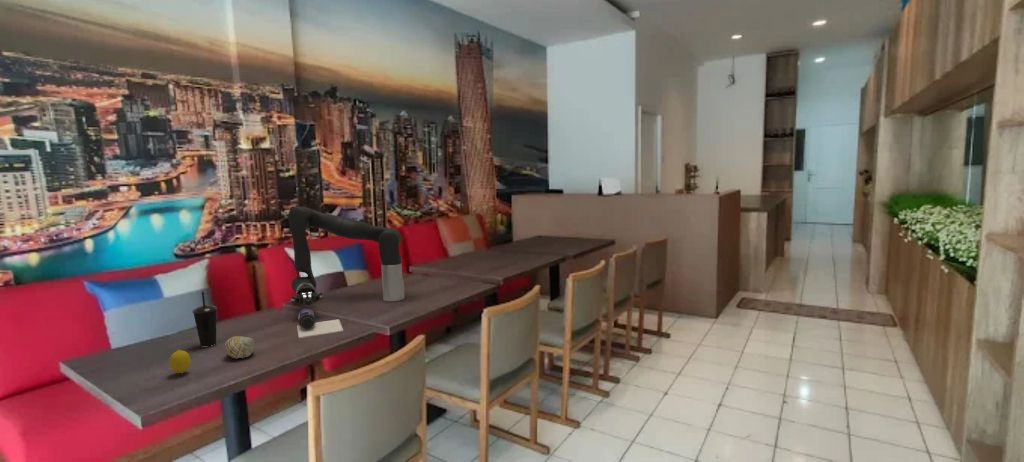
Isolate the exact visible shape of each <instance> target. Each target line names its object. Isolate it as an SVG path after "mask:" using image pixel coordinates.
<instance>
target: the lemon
mask: <svg viewBox="0 0 1024 462" xmlns="http://www.w3.org/2000/svg"><path fill="white" fill-rule="evenodd" d="M191 362H192V360H191V357H190V355H189V353H188V352H187V351H185V350H182V349H177V350H176V351H175V352H173V353H172V354H171V355H170V357H169V367H170V369H171V371H172V372H174V373H177V374H180V373H182V372H184V373H185V372H186V371H188V369H189V368H190V366H191Z"/></svg>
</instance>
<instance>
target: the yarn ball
mask: <svg viewBox="0 0 1024 462" xmlns="http://www.w3.org/2000/svg"><path fill="white" fill-rule="evenodd" d="M224 349H225V350H224V351H225V352H226V354H227V355H228V356H230V357H231V358H233V359H236V360H239V359H238V358H242V359H246V358H248V357H250V356H251V355H252V354H253V352H254V350H255V341H254V339H253V338H252V337H248V336H243V335H235V336H232V337H231V338H229V339H228V340H226V342H225V344H224ZM245 357H246V358H245Z"/></svg>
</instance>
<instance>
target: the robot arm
mask: <svg viewBox="0 0 1024 462" xmlns="http://www.w3.org/2000/svg"><path fill="white" fill-rule="evenodd" d="M287 217H288V218H287V219H288V224H289V229H290V233H291V238H292V239H291V240H292V244H293V253H294V254H293V256H294V257H293V258H294V259H293V260H294V270H295V271H296V272H298V273H305V274H306V276H298V277H294V278H293V279H292V281H291V285H290V286H291V289H292V291H293V292H294V293H295V294H296V295H295V296H294V295H291V296H290V301H291V303H293V304H297V305H301V304H304V305H306V306H311V305H312V304H313V303H317V302H318V301H321V300H323V298H324V297H323V296H324V295H323V292H316V288H317V282H316V279H315V276H314V273H313V270H312V258H311V257H312V256H311V250H310V247H309V244H308V238H307V227H310V228H311V227H312V228H316V229H321V230H324V231H326V232H327V233H330V234H332V235H334V236H338V237H341V238H344V239H345V238H346V239H349V240H360V241H371V242H375V243H377V244H378V252H379V259H380V264H381V267H380V268H381V279H382V297H383V301H384V302H388V303H389V302H399V301H401V300H405V284H404V283H405V282H404V278H403V267H402V257H401V254H400V244H401V243H402V240H403V238H402V234H401V233H400V231H398V230H397V229H395V228H391V227H390V228H389V227H384V226H378V225H377V226H376V225H373V224H369V223H367V222H364V221H361V220H356V219H354V218H349V217H345V216H340V215H335V214H329V213H323V212H321V211H318V210H315V209H312V208H309V207H307V206H294V207H292V208H291V209H290V210H289V212H288V214H287Z"/></svg>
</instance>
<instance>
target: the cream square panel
mask: <svg viewBox="0 0 1024 462" xmlns="http://www.w3.org/2000/svg"><path fill="white" fill-rule="evenodd" d="M296 327H297V328H296V329H297V334H298V335H297V337H298V339H304V338H312V337H316V336H323V335H331V334H335V333H341V332H344V329H343V326H342V323H341V321H340V319H339V318H338V319H331V320H326V321H325V320H323V321H319V322H315V324H314V325H313V327H312V328H310V329H304V328H302V327H301V326H300V325H299V324H297V325H296Z"/></svg>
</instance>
